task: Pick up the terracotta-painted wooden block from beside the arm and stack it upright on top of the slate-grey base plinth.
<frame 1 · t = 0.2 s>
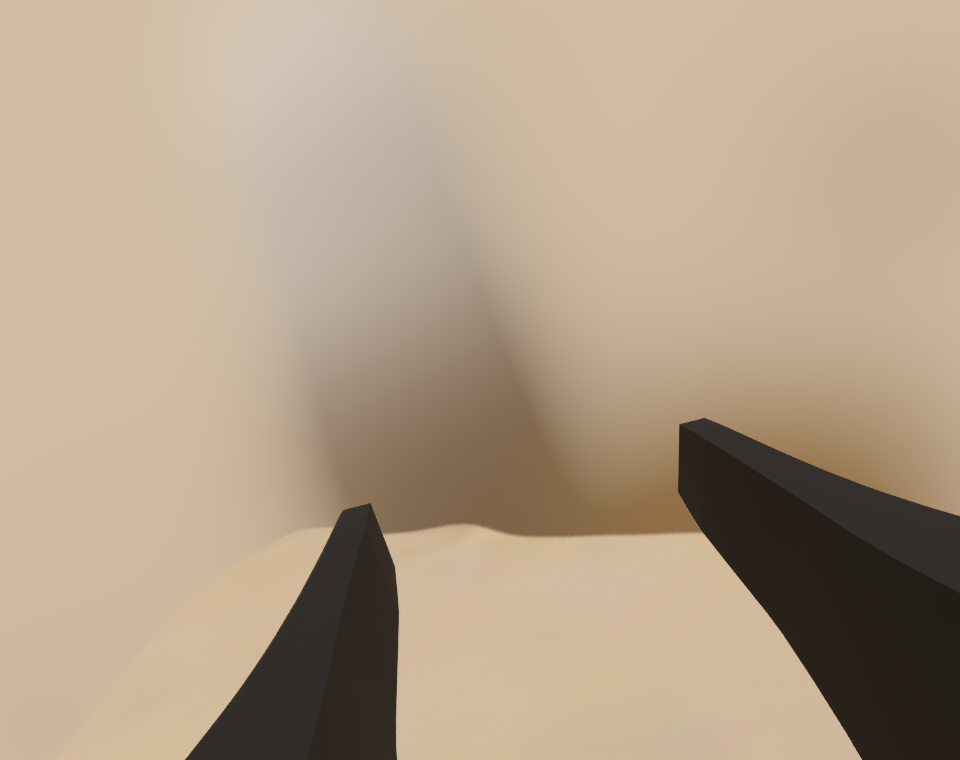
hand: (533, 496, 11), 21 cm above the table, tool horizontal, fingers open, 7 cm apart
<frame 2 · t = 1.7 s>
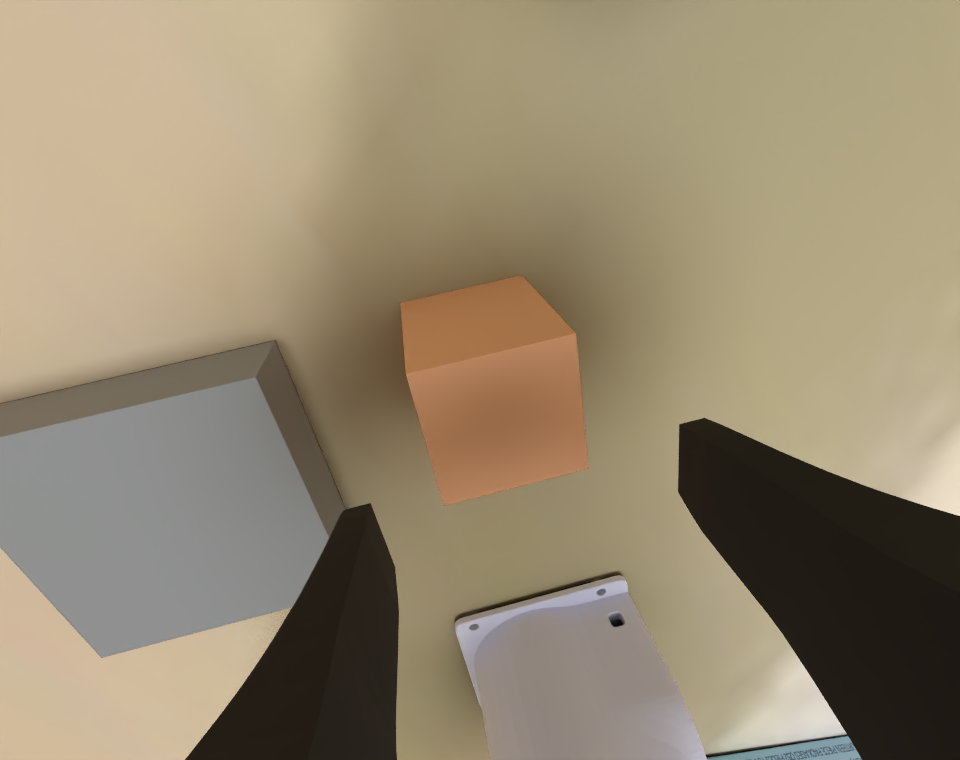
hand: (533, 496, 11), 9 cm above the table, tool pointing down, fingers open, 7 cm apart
gum box: (789, 753, 41), on the table
slate base: (198, 480, 20), on the table
terracotta block: (472, 344, 19), on the table
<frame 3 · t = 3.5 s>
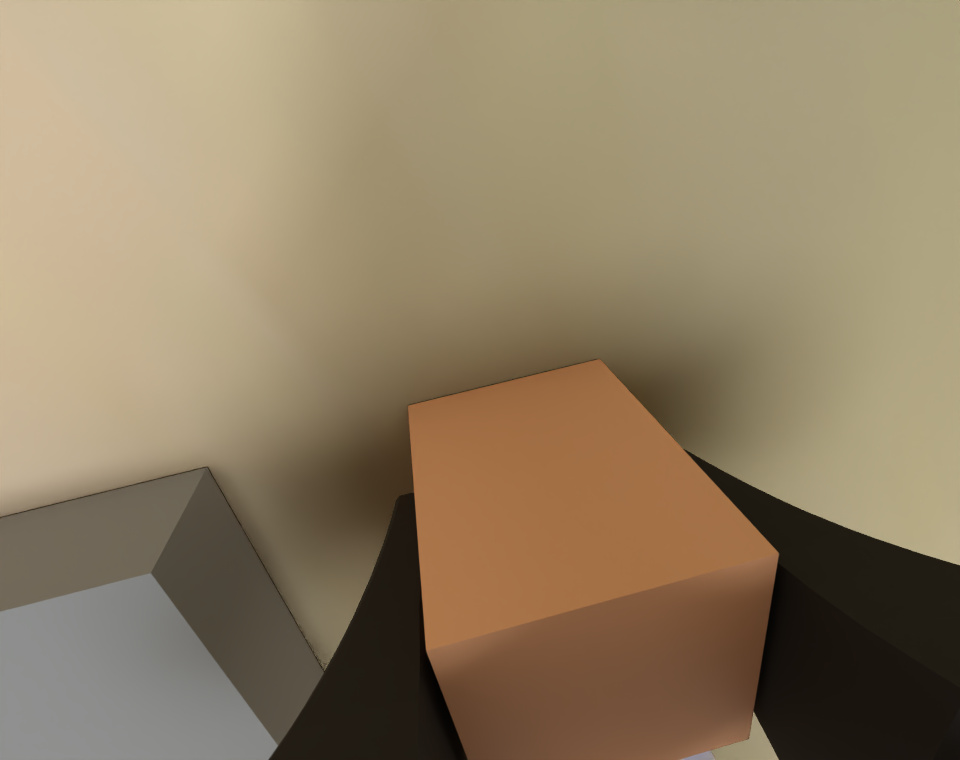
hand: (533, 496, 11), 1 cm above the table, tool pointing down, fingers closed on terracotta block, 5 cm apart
slate base: (101, 658, 13), on the table
terracotta block: (518, 459, 12), on the table, touching gripper
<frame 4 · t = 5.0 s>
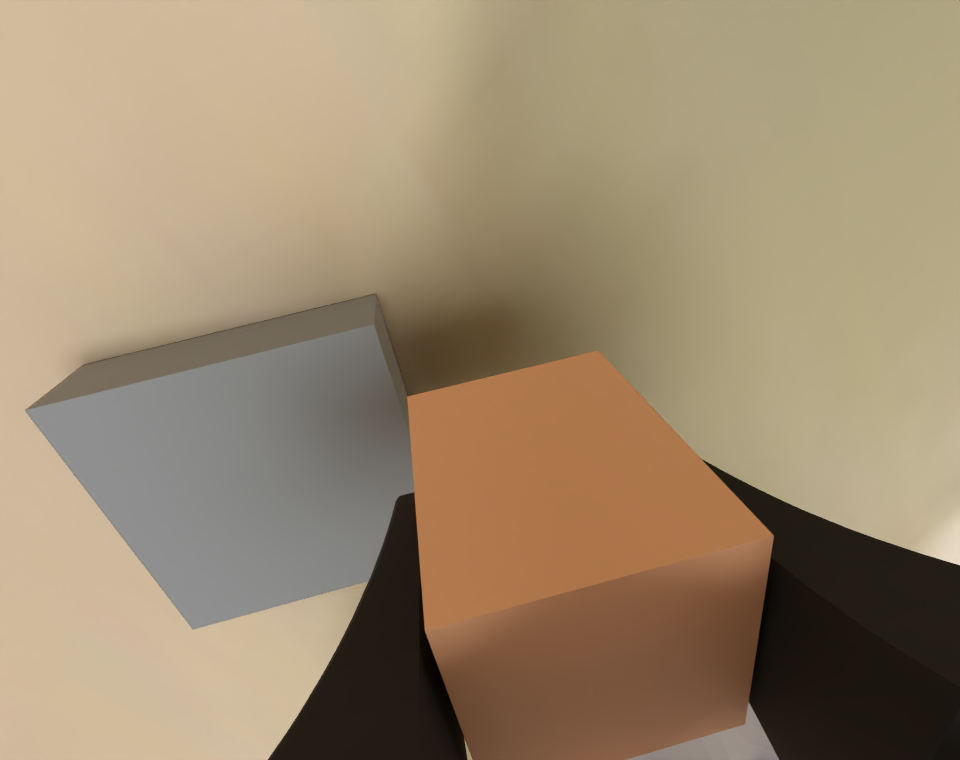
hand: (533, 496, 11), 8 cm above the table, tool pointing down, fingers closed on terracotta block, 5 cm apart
slate base: (287, 445, 19), on the table
terracotta block: (517, 451, 13), point 7 cm above the table, touching gripper
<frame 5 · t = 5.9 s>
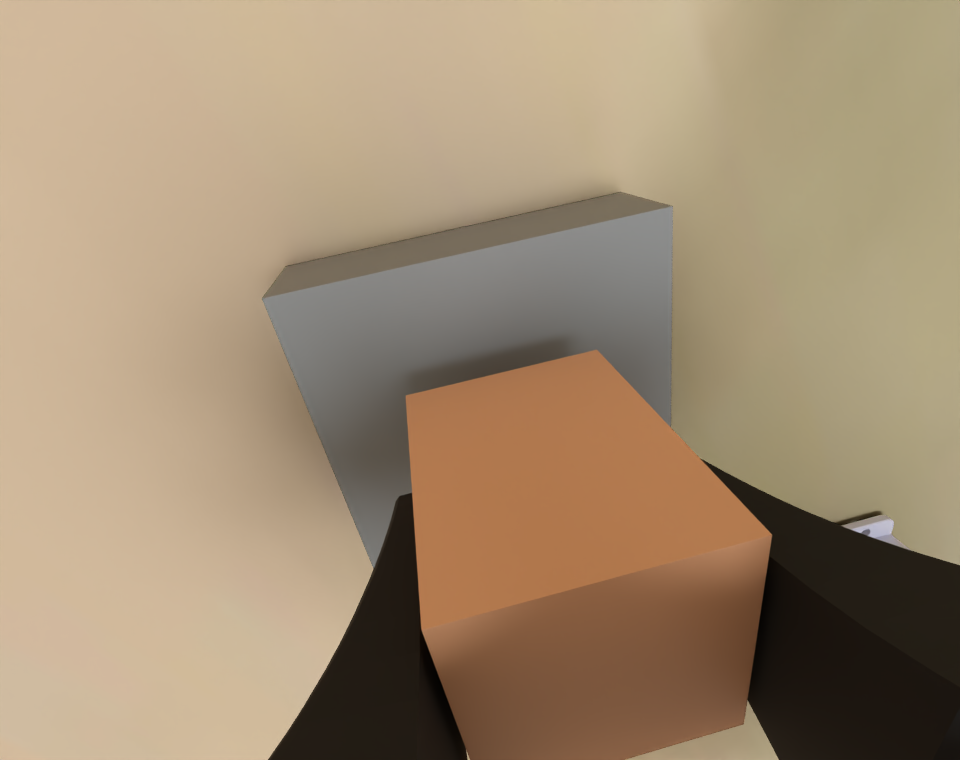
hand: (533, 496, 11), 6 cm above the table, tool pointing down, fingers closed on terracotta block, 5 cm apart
slate base: (486, 377, 17), on the table
terracotta block: (516, 450, 13), point 5 cm above the table, touching gripper
when the fingers open (6 cm above the table, at t = 6.8 s): terracotta block drops 1 cm, resting on slate base.
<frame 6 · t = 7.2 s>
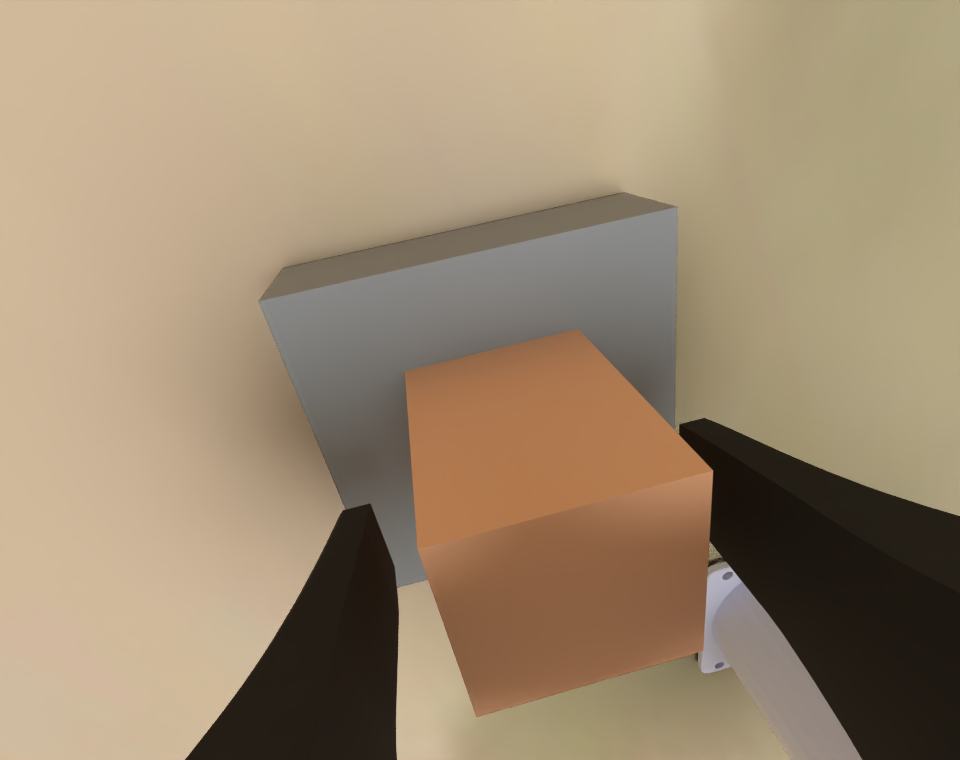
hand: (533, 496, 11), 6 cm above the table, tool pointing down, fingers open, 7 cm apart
slate base: (487, 380, 16), on the table
terracotta block: (506, 423, 14), point 3 cm above the table, touching slate base
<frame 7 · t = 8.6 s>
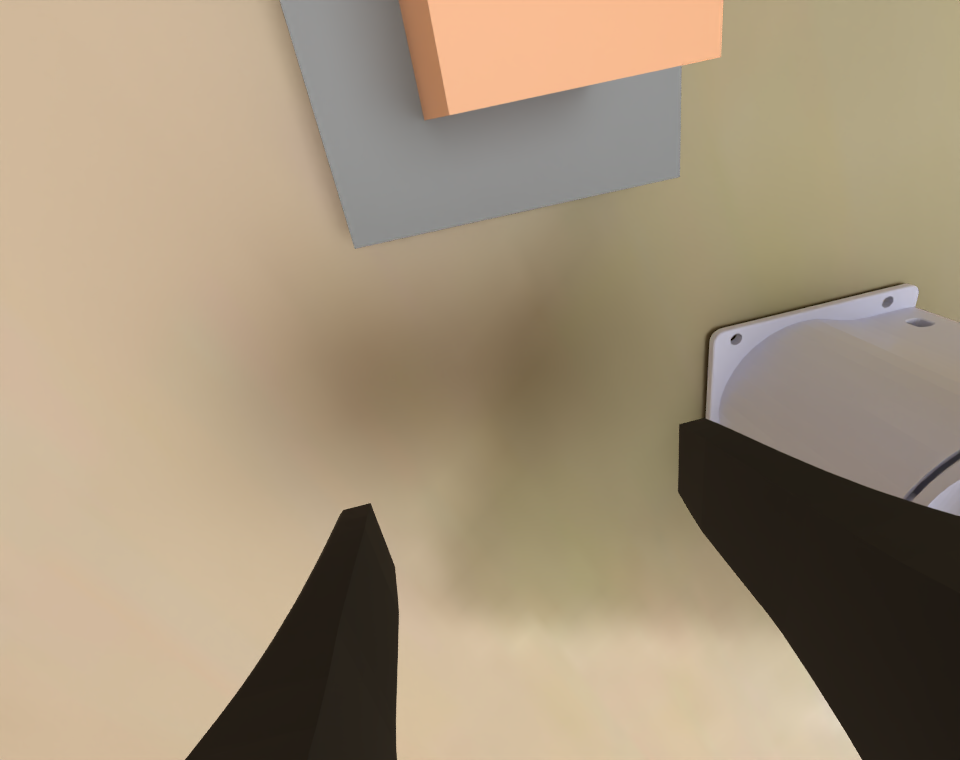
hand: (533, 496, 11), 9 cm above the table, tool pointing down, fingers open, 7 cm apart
slate base: (474, 27, 15), on the table
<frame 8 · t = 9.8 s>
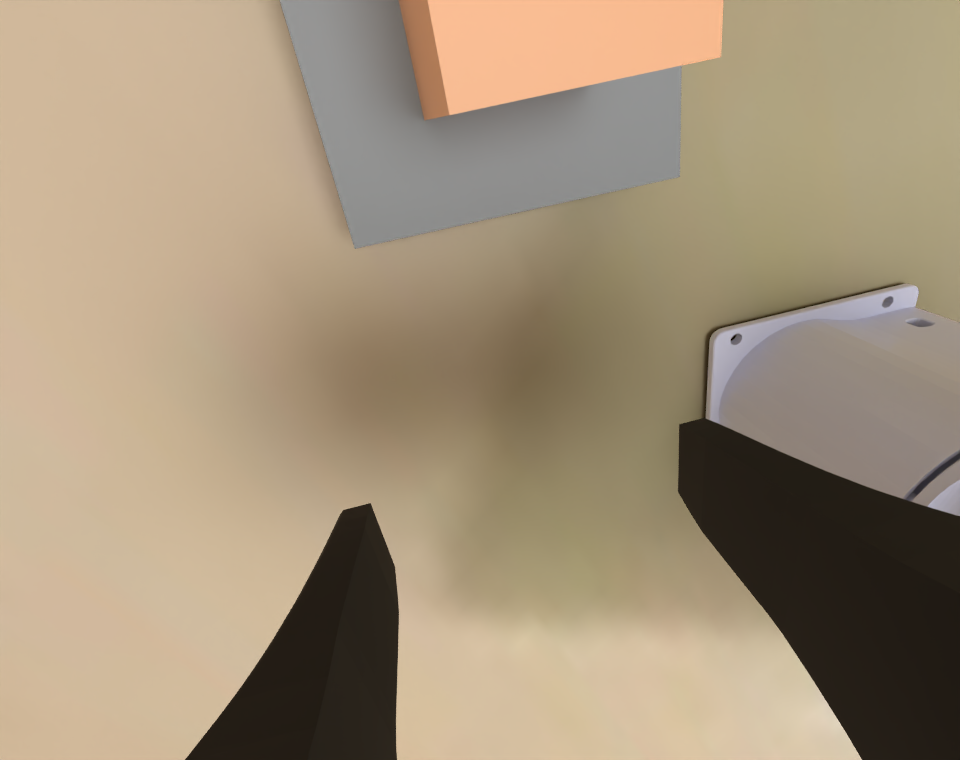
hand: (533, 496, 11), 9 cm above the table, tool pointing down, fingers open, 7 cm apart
slate base: (474, 27, 15), on the table
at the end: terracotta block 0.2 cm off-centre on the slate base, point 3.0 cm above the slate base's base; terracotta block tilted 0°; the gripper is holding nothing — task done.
